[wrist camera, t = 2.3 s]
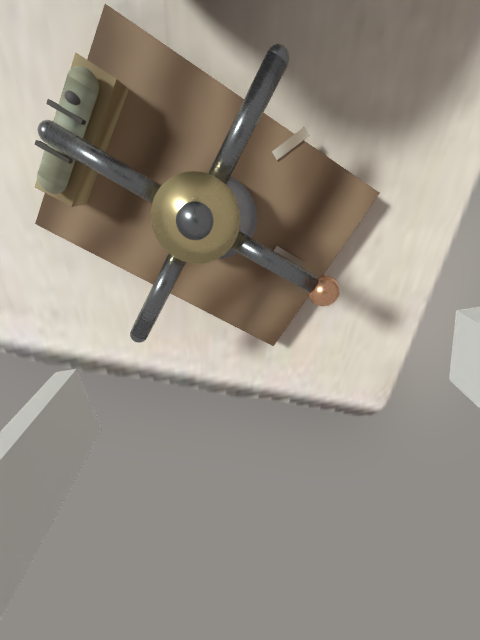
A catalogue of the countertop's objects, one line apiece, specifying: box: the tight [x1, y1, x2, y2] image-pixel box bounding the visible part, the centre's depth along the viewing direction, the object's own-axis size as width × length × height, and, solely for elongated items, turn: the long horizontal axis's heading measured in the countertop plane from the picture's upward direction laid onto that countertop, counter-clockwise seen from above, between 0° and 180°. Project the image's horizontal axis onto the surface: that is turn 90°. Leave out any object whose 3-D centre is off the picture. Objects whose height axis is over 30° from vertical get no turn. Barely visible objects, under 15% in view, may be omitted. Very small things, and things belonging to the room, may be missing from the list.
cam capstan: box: [38, 44, 340, 342], centre depth 26 cm, size 23×22×9 cm
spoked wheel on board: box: [35, 4, 379, 346], centre depth 28 cm, size 26×19×7 cm
